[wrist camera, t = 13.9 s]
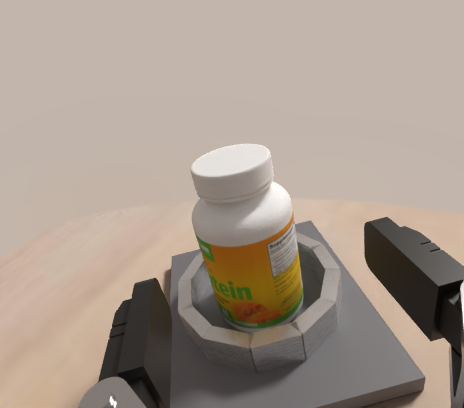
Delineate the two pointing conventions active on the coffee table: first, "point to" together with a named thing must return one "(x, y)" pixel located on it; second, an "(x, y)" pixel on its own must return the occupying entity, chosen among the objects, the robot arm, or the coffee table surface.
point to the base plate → (300, 374)
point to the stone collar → (270, 340)
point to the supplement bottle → (247, 237)
